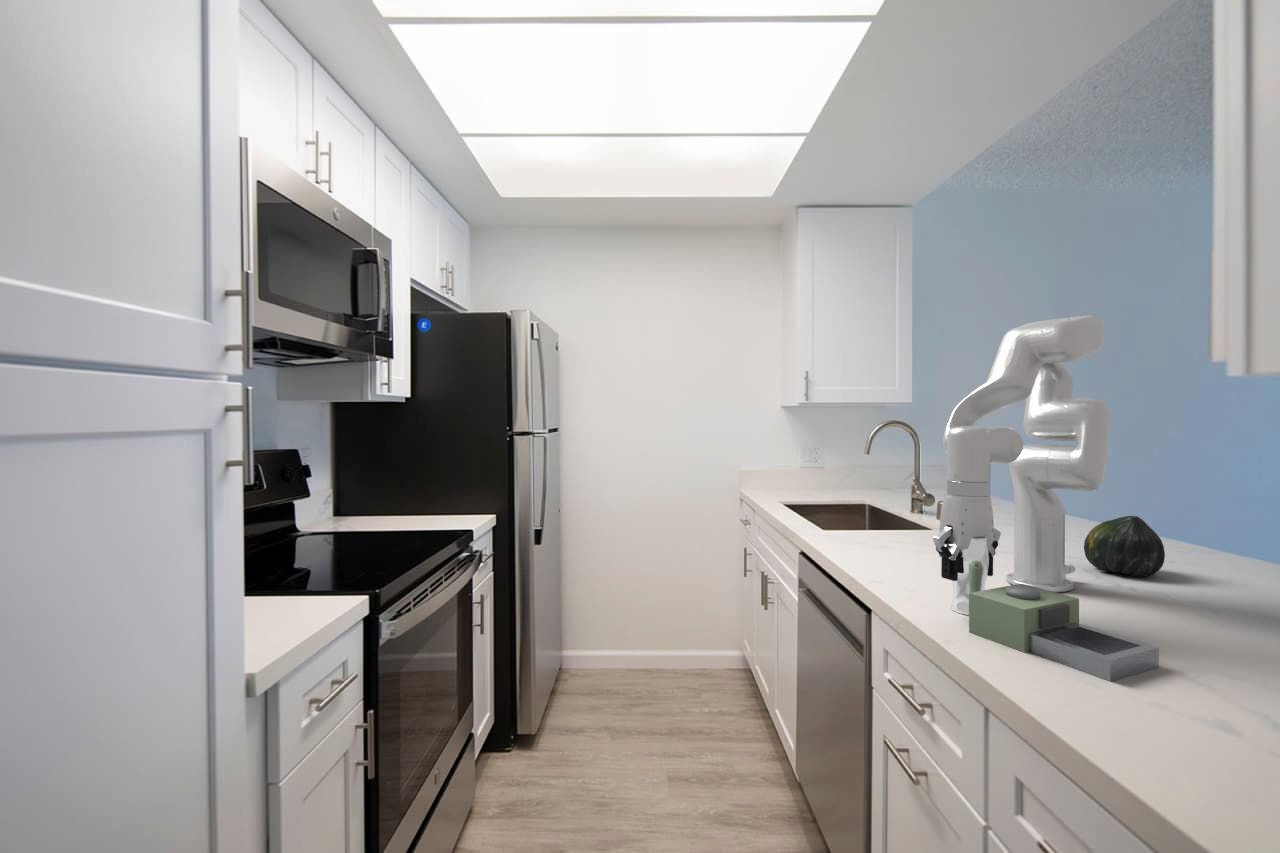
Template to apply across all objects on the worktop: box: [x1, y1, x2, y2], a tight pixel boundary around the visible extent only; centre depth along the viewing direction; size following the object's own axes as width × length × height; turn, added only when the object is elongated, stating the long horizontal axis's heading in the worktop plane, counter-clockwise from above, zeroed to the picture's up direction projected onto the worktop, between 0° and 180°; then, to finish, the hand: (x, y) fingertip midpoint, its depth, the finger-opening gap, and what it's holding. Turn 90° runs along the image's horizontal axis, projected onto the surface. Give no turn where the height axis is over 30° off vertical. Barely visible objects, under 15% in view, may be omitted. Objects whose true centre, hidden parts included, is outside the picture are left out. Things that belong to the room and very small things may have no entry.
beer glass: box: [949, 537, 989, 616], centre depth 117 cm, size 7×7×15 cm
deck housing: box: [968, 584, 1080, 653], centre depth 104 cm, size 14×11×8 cm
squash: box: [1083, 515, 1166, 578], centre depth 143 cm, size 14×15×15 cm
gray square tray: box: [1028, 622, 1160, 682], centre depth 94 cm, size 12×12×3 cm
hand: (967, 576), depth 117 cm, fingers open, 9 cm apart
